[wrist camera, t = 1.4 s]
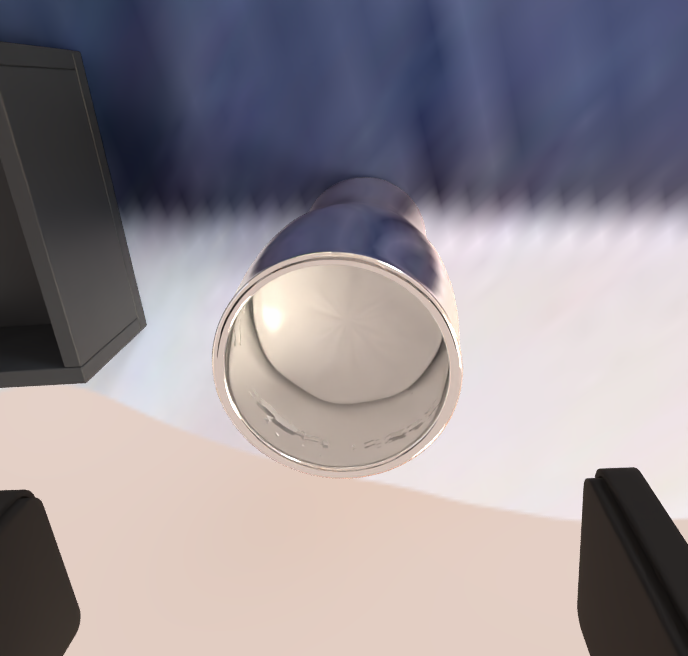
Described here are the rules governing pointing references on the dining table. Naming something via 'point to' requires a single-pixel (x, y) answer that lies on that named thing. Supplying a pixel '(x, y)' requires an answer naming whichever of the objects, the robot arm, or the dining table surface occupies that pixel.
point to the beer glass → (343, 337)
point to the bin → (58, 227)
